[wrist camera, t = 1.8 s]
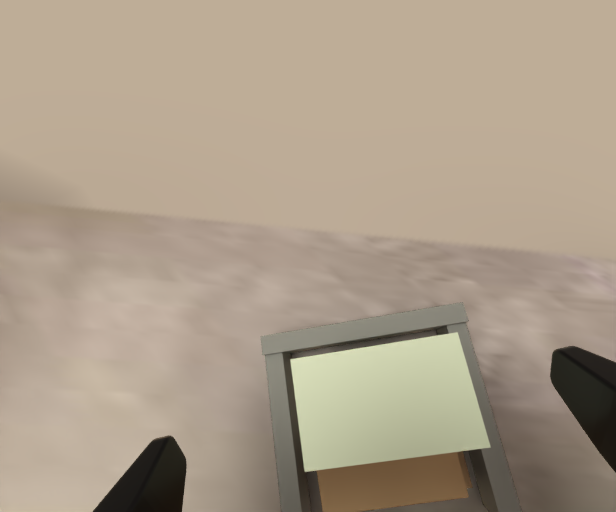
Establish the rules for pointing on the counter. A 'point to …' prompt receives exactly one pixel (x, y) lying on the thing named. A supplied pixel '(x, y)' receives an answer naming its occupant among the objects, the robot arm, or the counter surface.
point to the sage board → (386, 403)
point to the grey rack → (444, 319)
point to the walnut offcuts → (394, 483)
